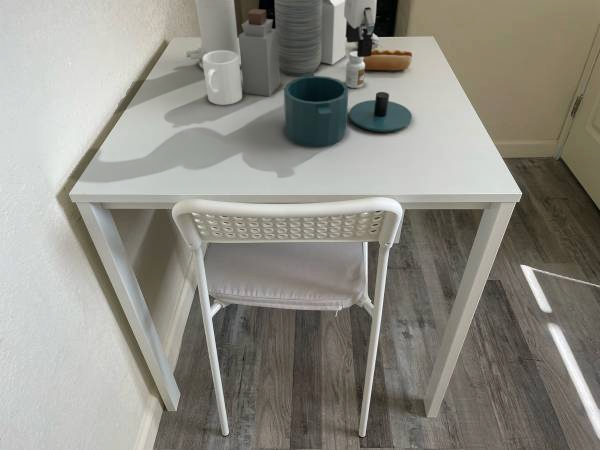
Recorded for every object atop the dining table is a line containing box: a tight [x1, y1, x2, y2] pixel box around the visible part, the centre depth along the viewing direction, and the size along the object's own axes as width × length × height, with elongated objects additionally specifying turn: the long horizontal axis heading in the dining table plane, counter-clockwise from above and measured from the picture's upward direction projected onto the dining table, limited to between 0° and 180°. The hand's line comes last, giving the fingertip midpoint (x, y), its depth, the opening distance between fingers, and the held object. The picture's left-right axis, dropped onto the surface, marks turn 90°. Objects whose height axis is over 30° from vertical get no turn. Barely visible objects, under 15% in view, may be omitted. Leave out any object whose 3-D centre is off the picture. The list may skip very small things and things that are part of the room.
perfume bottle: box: [238, 8, 281, 97], centre depth 107 cm, size 7×7×18 cm
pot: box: [283, 73, 350, 148], centre depth 94 cm, size 13×18×10 cm
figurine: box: [354, 33, 383, 50], centre depth 130 cm, size 4×8×5 cm, turn 67°
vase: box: [274, 0, 323, 77], centre depth 114 cm, size 12×12×23 cm
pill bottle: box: [345, 50, 365, 89], centre depth 111 cm, size 4×4×8 cm
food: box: [363, 49, 413, 71], centre depth 120 cm, size 14×6×5 cm, turn 87°
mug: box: [202, 50, 243, 106], centre depth 105 cm, size 8×12×10 cm
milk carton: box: [320, 0, 347, 65], centre depth 121 cm, size 7×7×19 cm
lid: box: [348, 91, 413, 132], centre depth 99 cm, size 14×14×6 cm
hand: (358, 48), depth 108 cm, fingers open, 9 cm apart
